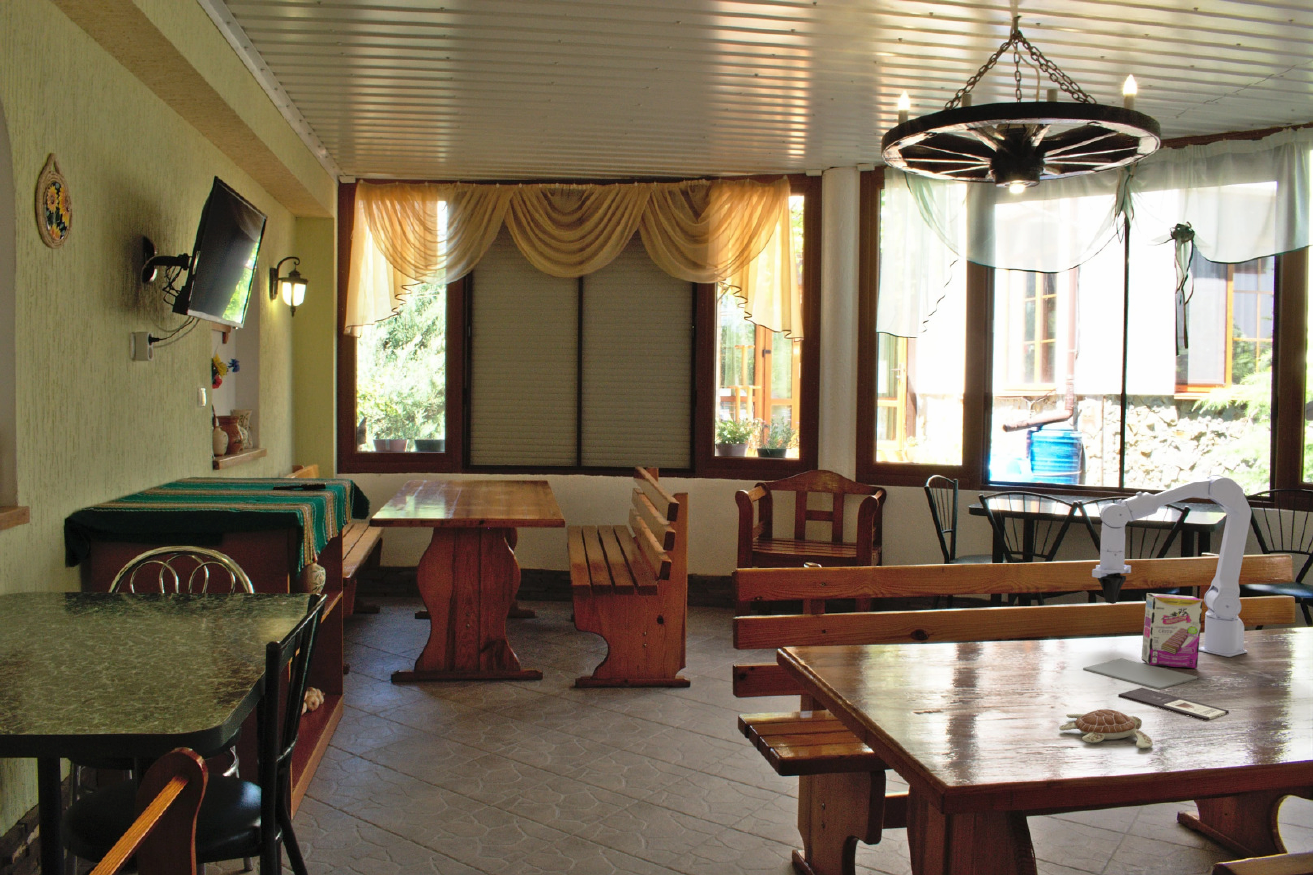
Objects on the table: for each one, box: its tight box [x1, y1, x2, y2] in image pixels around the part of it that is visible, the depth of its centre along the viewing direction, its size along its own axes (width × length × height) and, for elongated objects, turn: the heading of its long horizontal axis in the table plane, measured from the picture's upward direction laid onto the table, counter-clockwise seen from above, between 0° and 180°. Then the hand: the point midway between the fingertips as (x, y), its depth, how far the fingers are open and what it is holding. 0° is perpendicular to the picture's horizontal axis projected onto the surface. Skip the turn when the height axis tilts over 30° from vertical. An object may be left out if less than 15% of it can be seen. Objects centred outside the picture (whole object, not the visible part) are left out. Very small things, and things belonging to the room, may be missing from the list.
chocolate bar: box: [1117, 687, 1230, 721], centre depth 201 cm, size 9×1×18 cm
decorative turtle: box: [1058, 708, 1154, 749], centre depth 182 cm, size 18×17×5 cm
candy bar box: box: [1141, 592, 1203, 669], centre depth 230 cm, size 11×5×16 cm, turn 84°
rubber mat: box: [1082, 657, 1198, 690], centre depth 223 cm, size 16×18×1 cm
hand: (1110, 602), depth 251 cm, fingers closed
